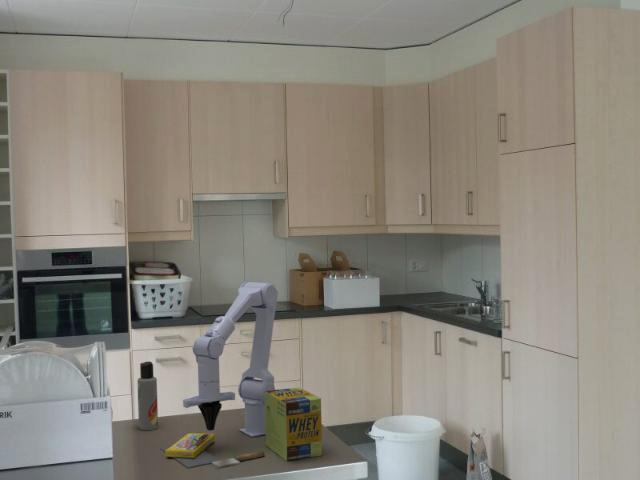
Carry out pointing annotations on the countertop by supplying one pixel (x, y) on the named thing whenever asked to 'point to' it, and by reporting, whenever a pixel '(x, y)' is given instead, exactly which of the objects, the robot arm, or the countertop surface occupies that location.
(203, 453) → the mat
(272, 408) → the protein box
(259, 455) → the turner
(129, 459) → the countertop surface
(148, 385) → the lotion bottle
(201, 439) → the candy box
